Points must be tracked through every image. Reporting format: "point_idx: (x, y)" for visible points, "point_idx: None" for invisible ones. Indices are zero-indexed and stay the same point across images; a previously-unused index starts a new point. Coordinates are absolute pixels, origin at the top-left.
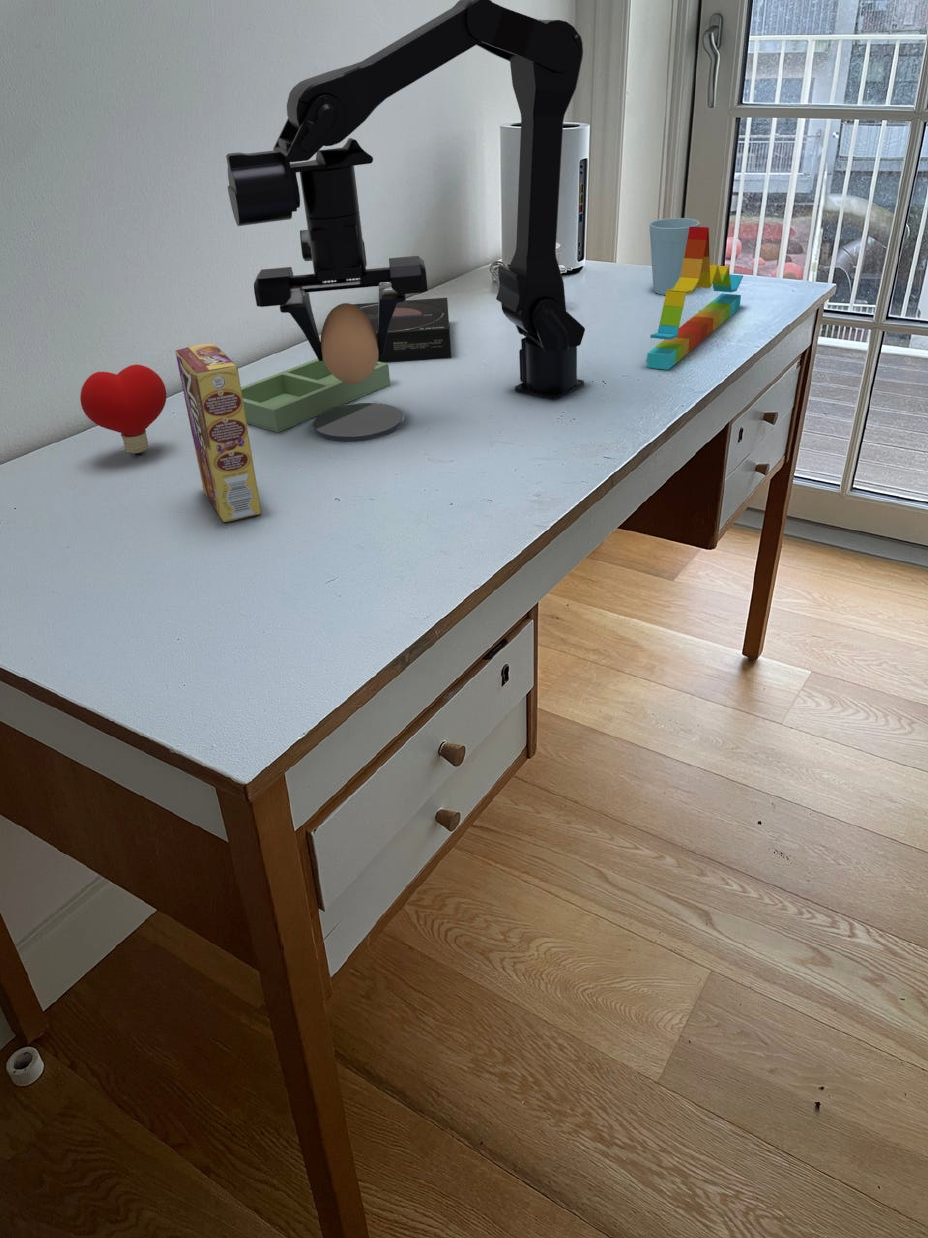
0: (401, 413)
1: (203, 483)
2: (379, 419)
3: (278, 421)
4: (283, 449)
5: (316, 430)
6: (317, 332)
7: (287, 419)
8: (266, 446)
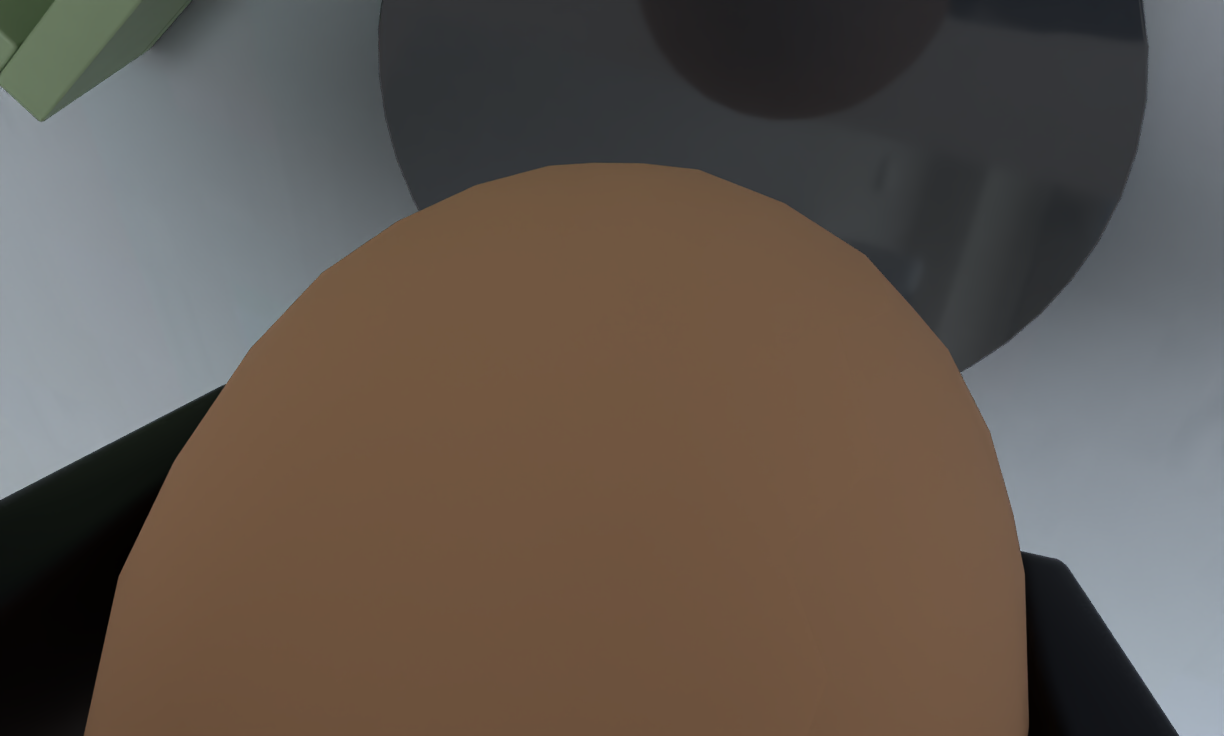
0: (1122, 159)
1: None
2: (898, 209)
3: (116, 68)
4: (258, 319)
5: (419, 207)
6: (42, 636)
7: (168, 7)
8: (147, 240)
